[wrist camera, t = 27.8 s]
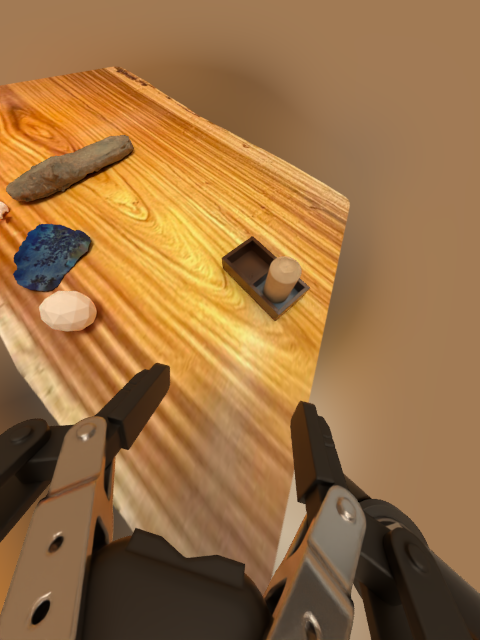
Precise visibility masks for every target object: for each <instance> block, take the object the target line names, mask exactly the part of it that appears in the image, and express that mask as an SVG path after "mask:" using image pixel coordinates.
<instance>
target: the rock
mask: <svg viewBox="0 0 480 640" xmlns="http://www.w3.org/2000/svg"><path fill="white" fill-rule="evenodd" d="M27 235H28V236H27V238H26V240H25V241H23V242H22V245H21V246H20V247H19V251H18V252H17V253H16V254H15V255H14V263H16V265H17V270H16V271H15V272H14V274H13V275H14V278H15V279H16V280H17V283H18V284H19V285H21V286H23V287H25V288H28V289H30V290H38V291H49V290H53V289H54V288H55V287H57V286H58V285H59V284H60V281H61V280H62V279H63V275H64V274H66V272H69V270H70V269H71V267H72V266H74V264H75V263H76V261H77V260H78V259H79V258H80V256H82V254H85V252H88V246H89V244H90V242H91V240H90V237H88V235H86V234H85V233H84V232H82V231H80V230H76V231H74V230H71V229H70V228H67V227H65V226H62V225H53V224H41V225H40V224H39V226H37V227H36V229H34V230H32V231H30V232H29V233H28V234H27Z"/></svg>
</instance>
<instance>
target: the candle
mask: <svg viewBox="0 0 480 640" xmlns="http://www.w3.org/2000/svg"><path fill="white" fill-rule="evenodd" d="M301 272H302V270H301V266H300V264H299V263H298V262H297V261H296V260H295V259H293V258H291V257H286V256H282V257H278V258H276V259H275V260H273V261H272V263H271V265H270V268H269V272H268V275H267V279H266V282H265V285H264V290H263V293H264V296H265V297H266V298H267V299H268V300H269V301H270V302H271V303H275V304H278V303H282V302H284V301H285V300H286V299H287V297H288V296H289V294H290V293H291V291H292V289H293V288H294V286H295V284H296V283H297V281H298V279H299V278H300V276H301Z"/></svg>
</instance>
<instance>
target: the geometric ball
mask: <svg viewBox="0 0 480 640" xmlns="http://www.w3.org/2000/svg"><path fill="white" fill-rule="evenodd" d="M39 309H40V314H41V320H43V321H44V322H45V323H46V324H48V325H49V326H50V327H51V328H52V329H56V330H61V331H79V330H83V329H84V328H86V327H87V326H89V325H90V324H92V323H93V322H94V320H95V317H96V314H97V310H96V307H95V304H94V303H93V302H92V300H91V299H90V298H89V297H87V296H86V295H84V294H81V293H79V292H77V291H58V292H56V293H54V294H52V295H51V296H49V297H47V298H46V299H45V300H44V301H43V302H42V304H41V305H40V306H39Z"/></svg>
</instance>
